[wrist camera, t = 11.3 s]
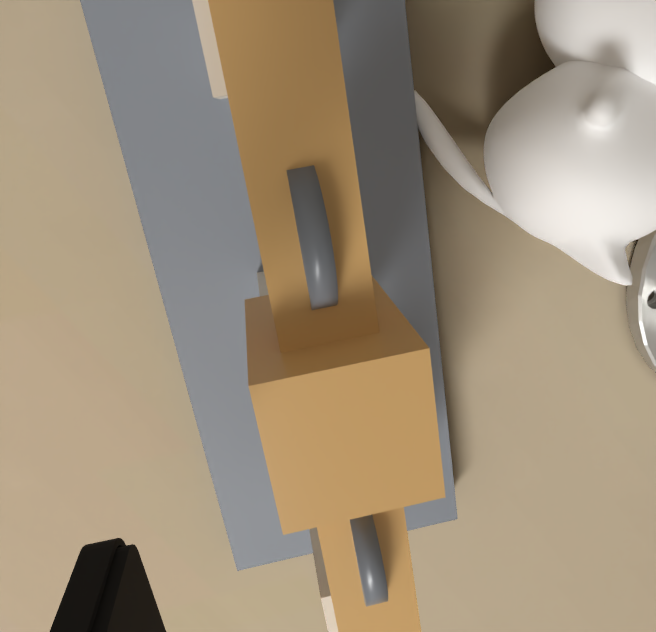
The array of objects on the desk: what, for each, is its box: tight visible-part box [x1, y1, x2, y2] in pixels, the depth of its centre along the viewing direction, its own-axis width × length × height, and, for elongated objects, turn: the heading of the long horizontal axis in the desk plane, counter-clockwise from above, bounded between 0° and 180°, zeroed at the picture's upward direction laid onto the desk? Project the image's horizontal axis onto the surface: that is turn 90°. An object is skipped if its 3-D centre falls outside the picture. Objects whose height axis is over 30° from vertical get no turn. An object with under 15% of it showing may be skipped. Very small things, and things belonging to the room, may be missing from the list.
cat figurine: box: [414, 0, 656, 285], centre depth 19 cm, size 9×11×12 cm
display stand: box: [80, 0, 457, 632], centre depth 20 cm, size 10×23×8 cm, turn 9°
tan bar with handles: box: [208, 0, 446, 632], centre depth 16 cm, size 4×20×6 cm, turn 9°
